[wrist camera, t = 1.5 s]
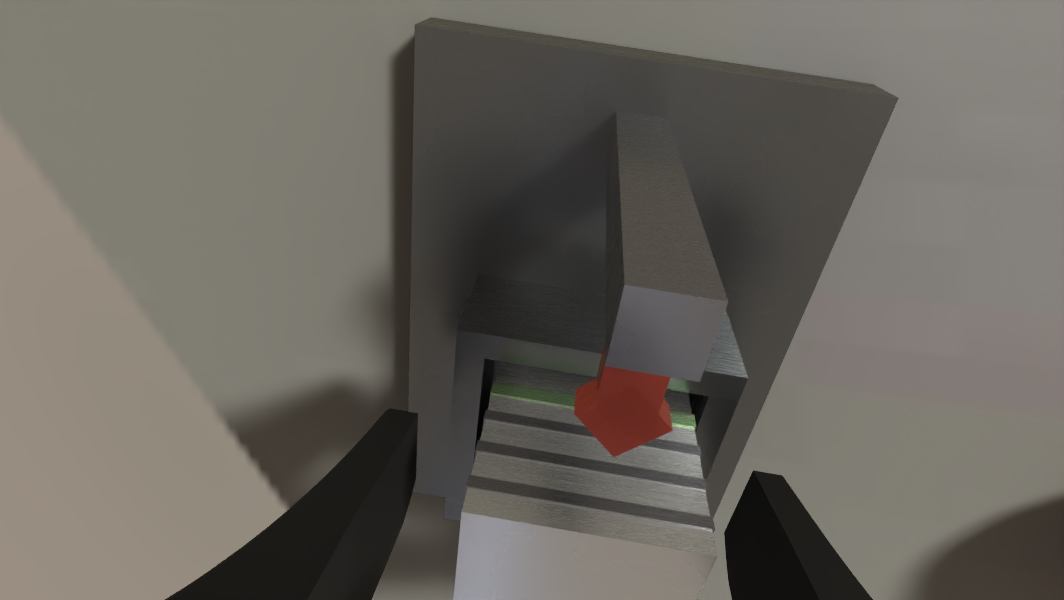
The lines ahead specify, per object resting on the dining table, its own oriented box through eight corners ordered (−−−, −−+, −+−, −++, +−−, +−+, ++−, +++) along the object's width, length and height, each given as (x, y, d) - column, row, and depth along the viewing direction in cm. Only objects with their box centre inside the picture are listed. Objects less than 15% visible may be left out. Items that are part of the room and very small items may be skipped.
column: (642, 461, 16) (657, 687, 11) (495, 437, 16) (447, 648, 11) (680, 341, 14) (719, 555, 9) (511, 313, 14) (459, 510, 9)
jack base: (697, 509, 19) (748, 835, 12) (417, 461, 19) (310, 753, 12) (873, 84, 12) (1234, 278, 5) (431, 17, 12) (201, 116, 5)
